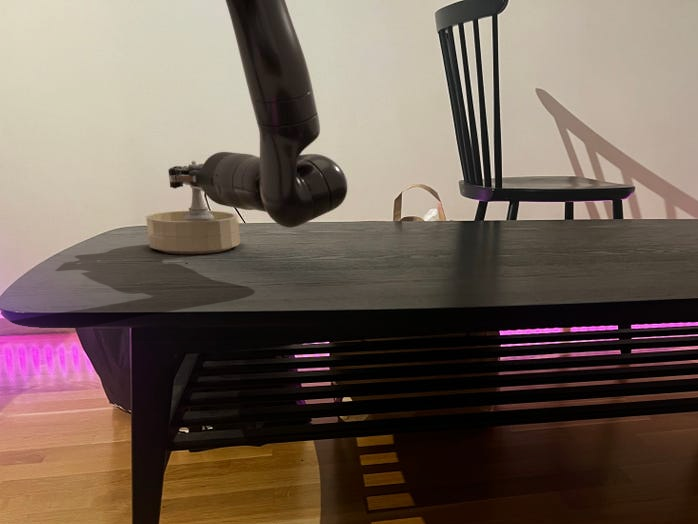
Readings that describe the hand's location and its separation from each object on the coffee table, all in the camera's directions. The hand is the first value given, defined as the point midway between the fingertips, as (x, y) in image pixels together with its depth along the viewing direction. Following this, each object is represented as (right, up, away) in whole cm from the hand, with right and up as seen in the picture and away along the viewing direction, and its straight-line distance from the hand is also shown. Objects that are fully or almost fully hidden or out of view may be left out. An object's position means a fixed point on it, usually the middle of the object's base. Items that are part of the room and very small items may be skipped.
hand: (186, 173), depth 109 cm
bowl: (+1, -12, +1) cm, 12 cm away
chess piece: (+2, -9, +1) cm, 9 cm away
